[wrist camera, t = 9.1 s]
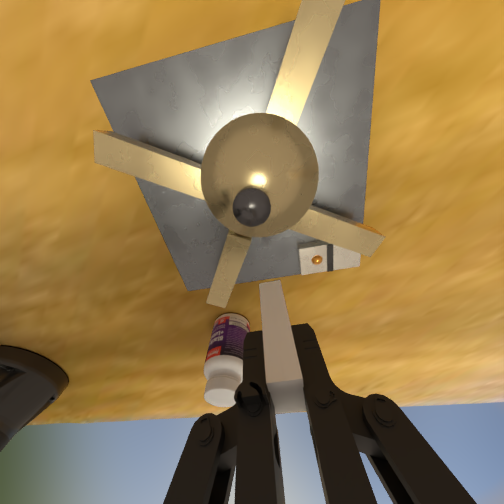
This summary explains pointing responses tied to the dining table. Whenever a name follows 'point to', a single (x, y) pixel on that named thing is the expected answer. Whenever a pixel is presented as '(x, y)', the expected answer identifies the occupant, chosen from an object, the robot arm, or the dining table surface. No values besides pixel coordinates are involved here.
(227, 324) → the pill bottle
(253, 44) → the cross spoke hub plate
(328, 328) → the dining table surface
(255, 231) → the four spoke knob plate
